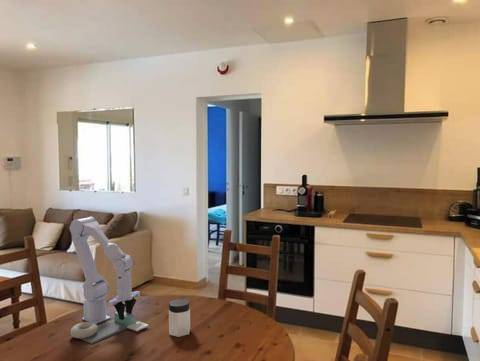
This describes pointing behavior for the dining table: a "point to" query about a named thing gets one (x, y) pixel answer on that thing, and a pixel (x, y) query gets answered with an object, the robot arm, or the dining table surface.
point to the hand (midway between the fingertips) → (125, 317)
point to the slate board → (105, 331)
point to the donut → (84, 330)
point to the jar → (179, 317)
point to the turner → (130, 321)
